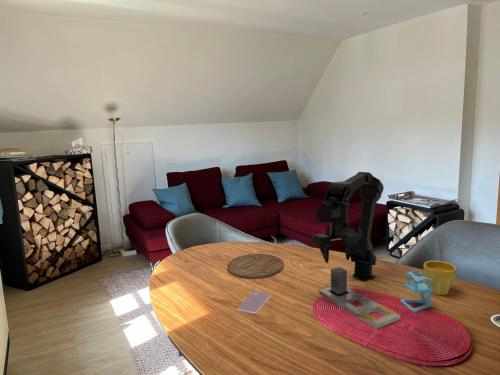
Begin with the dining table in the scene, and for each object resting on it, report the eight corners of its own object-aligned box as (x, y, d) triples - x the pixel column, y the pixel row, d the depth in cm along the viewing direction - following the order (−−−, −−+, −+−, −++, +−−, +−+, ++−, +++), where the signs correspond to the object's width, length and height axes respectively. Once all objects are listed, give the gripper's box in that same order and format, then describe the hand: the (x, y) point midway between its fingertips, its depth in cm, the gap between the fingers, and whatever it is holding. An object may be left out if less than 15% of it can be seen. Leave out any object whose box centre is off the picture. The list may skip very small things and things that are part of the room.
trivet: (293, 262, 172) (293, 258, 172) (265, 284, 151) (265, 279, 151) (247, 254, 185) (246, 250, 185) (216, 273, 165) (215, 269, 164)
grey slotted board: (340, 287, 145) (340, 282, 144) (400, 319, 120) (400, 314, 120) (319, 294, 140) (319, 289, 140) (377, 329, 116) (377, 323, 115)
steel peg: (339, 292, 141) (339, 266, 139) (346, 296, 137) (346, 270, 135) (331, 295, 139) (330, 269, 137) (338, 299, 135) (338, 273, 134)
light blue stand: (436, 309, 125) (437, 275, 123) (412, 312, 124) (414, 278, 122) (421, 299, 133) (423, 266, 131) (399, 301, 132) (401, 269, 129)
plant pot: (453, 287, 140) (454, 262, 139) (455, 299, 131) (456, 273, 129) (422, 283, 145) (423, 258, 143) (422, 295, 135) (423, 269, 134)
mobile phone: (235, 308, 131) (253, 290, 145) (235, 311, 131) (253, 292, 145) (255, 312, 128) (271, 293, 141) (255, 315, 128) (272, 295, 142)
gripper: (331, 225, 123) (329, 272, 124) (375, 220, 130) (373, 264, 132) (311, 218, 133) (310, 262, 134) (354, 214, 140) (352, 255, 142)
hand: (337, 261), depth 136 cm, fingers open, 9 cm apart
